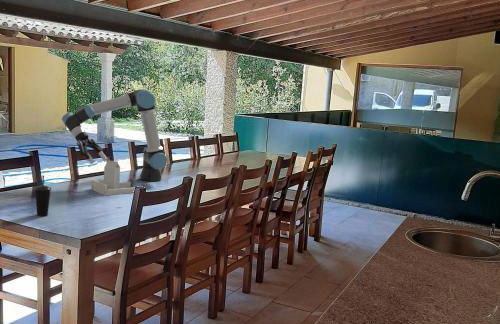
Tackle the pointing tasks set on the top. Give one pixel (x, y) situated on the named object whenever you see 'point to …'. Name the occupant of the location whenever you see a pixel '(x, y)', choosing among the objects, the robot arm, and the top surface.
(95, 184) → the bay
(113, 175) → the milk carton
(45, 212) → the drinking cup
